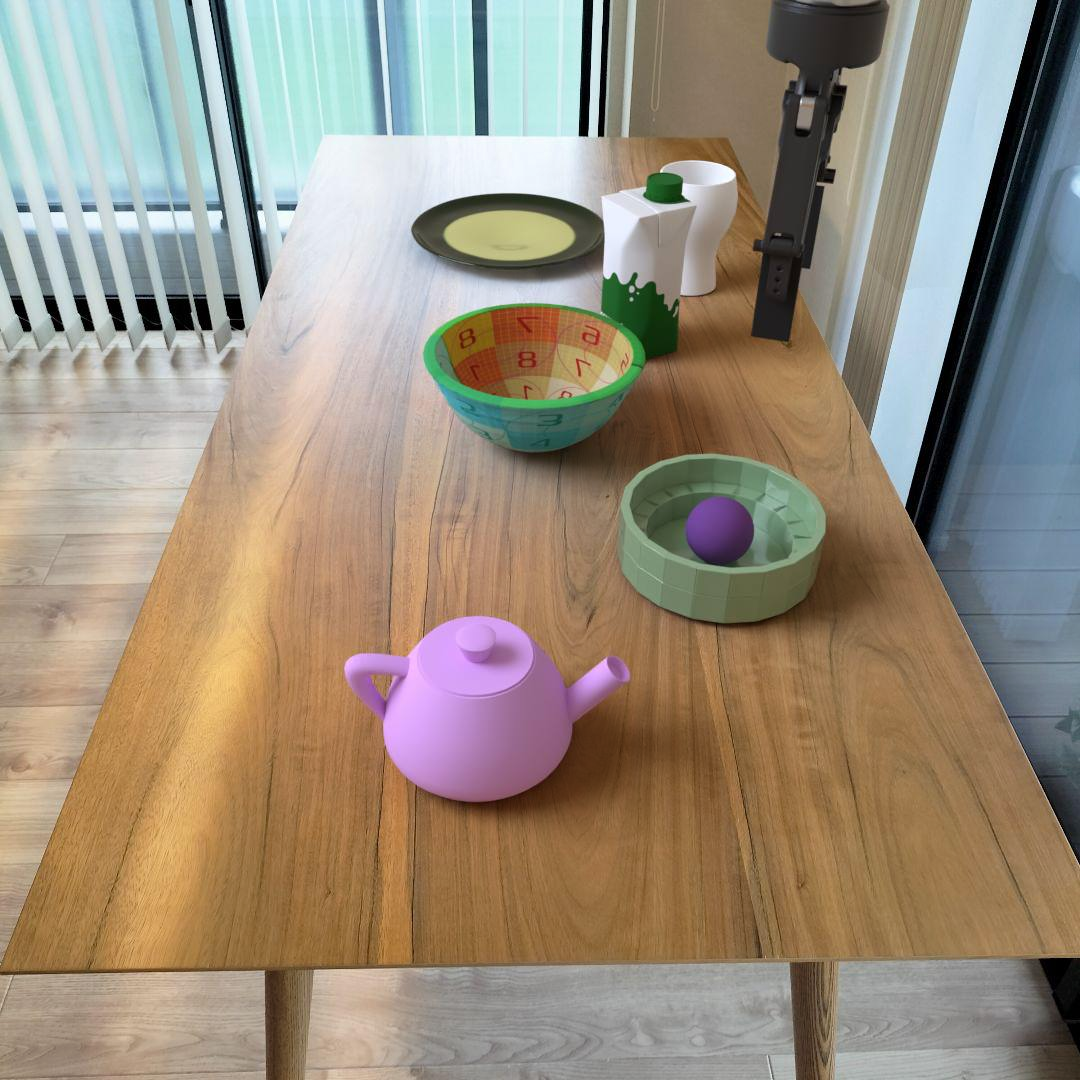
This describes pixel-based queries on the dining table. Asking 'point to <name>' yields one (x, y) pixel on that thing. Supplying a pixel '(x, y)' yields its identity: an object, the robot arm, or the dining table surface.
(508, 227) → the plate
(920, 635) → the dining table surface
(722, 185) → the cup
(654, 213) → the milk carton
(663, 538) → the green bowl
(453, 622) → the teapot
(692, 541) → the ball
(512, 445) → the bowl
